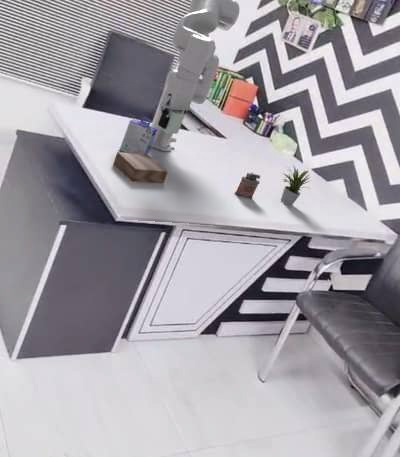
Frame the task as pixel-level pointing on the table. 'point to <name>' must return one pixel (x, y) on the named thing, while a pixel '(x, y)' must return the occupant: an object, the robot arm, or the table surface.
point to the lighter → (247, 186)
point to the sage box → (173, 122)
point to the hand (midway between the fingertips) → (167, 126)
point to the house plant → (293, 187)
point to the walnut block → (140, 168)
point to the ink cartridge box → (138, 137)
